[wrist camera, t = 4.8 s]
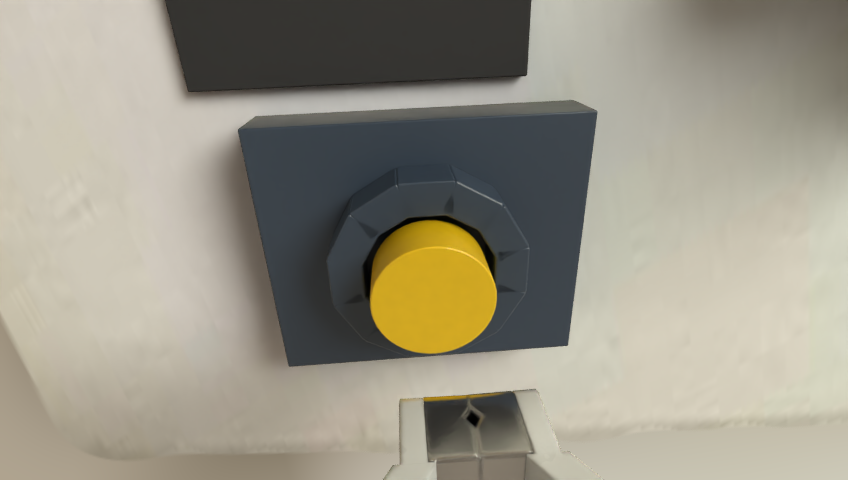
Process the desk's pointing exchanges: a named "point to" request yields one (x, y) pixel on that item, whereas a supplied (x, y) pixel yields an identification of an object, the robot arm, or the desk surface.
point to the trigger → (431, 287)
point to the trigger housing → (419, 214)
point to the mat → (346, 41)
